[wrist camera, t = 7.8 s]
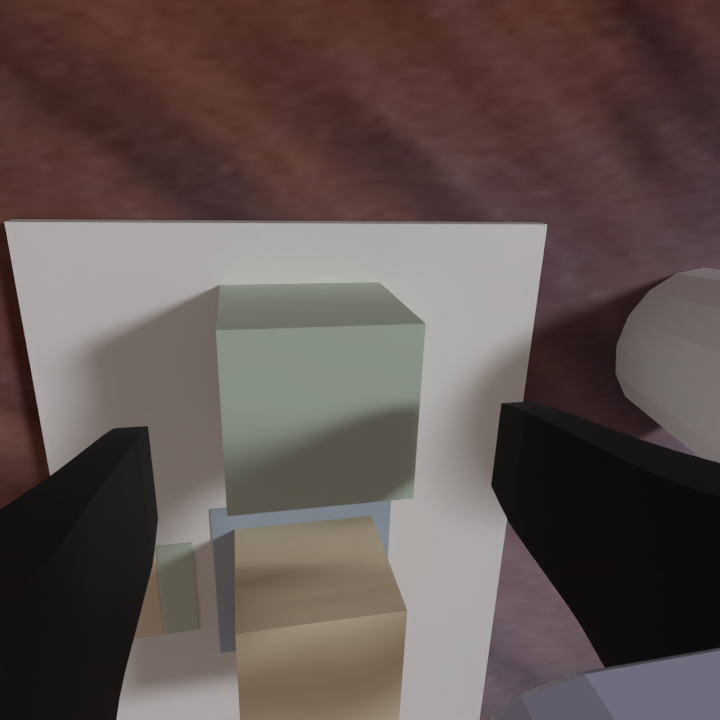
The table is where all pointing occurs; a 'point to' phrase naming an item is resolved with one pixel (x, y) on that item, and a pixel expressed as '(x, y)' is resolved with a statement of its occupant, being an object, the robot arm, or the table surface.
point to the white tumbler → (677, 358)
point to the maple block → (317, 623)
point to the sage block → (317, 395)
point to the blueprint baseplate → (204, 429)
